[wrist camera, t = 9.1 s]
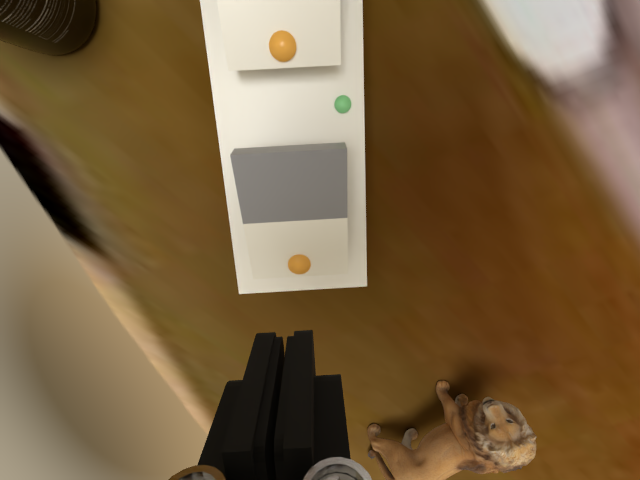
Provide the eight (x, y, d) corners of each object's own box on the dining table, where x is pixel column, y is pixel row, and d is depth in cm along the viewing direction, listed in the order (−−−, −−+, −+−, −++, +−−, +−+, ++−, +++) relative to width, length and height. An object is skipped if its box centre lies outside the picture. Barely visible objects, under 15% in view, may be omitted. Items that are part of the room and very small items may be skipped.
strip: (346, -212, 20) (359, -349, 14) (357, 261, 28) (368, 291, 23) (195, -204, 20) (149, -340, 14) (251, 268, 28) (236, 299, 23)
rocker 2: (343, 139, 19) (347, 149, 17) (344, 258, 23) (347, 275, 21) (236, 145, 19) (229, 155, 17) (256, 263, 23) (252, 280, 21)
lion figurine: (463, 344, 31) (523, 423, 22) (498, 377, 32) (567, 464, 23) (350, 437, 34) (364, 540, 25) (386, 465, 35) (411, 572, 26)
